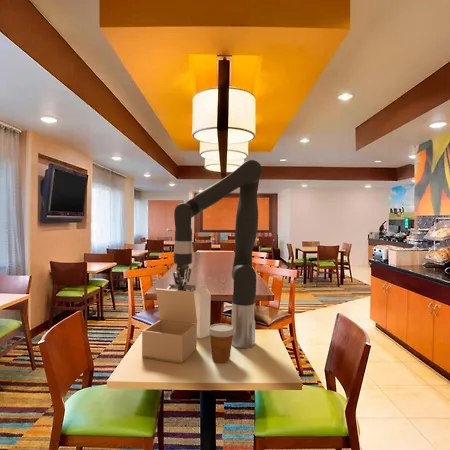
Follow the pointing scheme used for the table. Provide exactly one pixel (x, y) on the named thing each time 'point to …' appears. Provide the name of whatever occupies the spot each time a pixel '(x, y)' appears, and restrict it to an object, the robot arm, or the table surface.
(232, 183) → the robot arm
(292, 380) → the table surface
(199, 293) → the milk
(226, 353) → the disposable coffee cup
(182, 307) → the carton flap
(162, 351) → the carton
